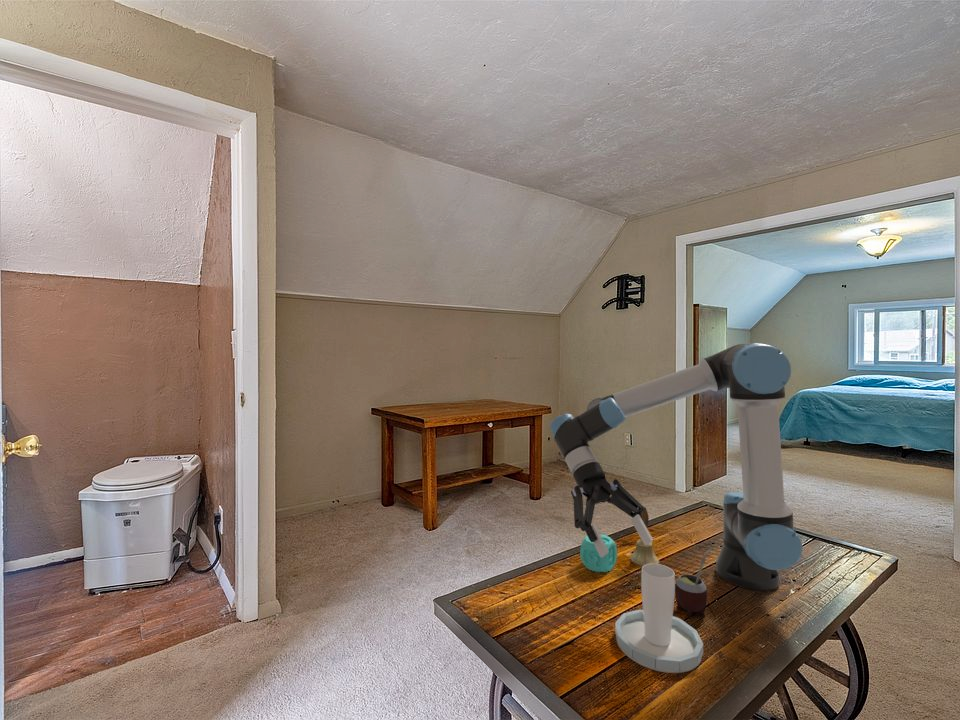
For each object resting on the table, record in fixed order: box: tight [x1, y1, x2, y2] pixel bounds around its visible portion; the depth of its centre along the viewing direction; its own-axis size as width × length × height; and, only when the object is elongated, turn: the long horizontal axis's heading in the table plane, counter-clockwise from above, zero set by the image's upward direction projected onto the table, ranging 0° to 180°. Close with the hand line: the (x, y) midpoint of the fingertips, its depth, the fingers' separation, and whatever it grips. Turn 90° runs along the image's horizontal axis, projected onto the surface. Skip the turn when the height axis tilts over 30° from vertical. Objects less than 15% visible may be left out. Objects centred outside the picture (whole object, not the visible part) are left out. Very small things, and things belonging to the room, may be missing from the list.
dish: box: [614, 609, 704, 674], centre depth 97 cm, size 17×17×2 cm
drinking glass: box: [640, 563, 676, 646], centre depth 97 cm, size 7×7×15 cm
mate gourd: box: [675, 547, 713, 620], centre depth 109 cm, size 8×8×15 cm
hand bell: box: [629, 506, 660, 567], centre depth 135 cm, size 8×8×16 cm
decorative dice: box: [579, 533, 618, 573], centre depth 132 cm, size 8×8×8 cm
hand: (627, 548), depth 104 cm, fingers open, 13 cm apart
